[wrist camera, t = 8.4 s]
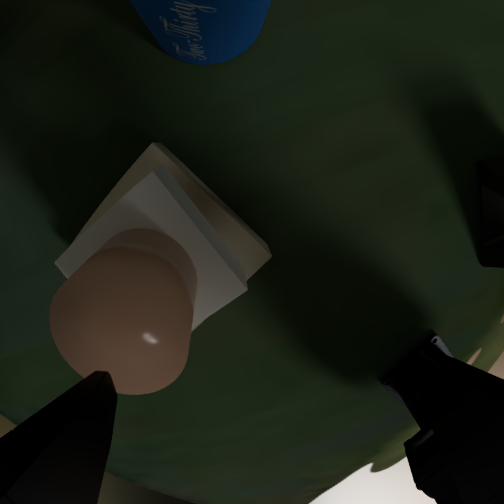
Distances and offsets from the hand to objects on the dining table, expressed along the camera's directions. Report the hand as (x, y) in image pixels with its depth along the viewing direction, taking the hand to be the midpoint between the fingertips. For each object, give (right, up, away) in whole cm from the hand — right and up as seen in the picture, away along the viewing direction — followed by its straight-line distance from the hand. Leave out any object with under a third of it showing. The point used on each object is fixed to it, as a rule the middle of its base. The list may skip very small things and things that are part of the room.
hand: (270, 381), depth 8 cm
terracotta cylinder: (-6, +2, +7) cm, 9 cm away
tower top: (-6, +3, +9) cm, 11 cm away
